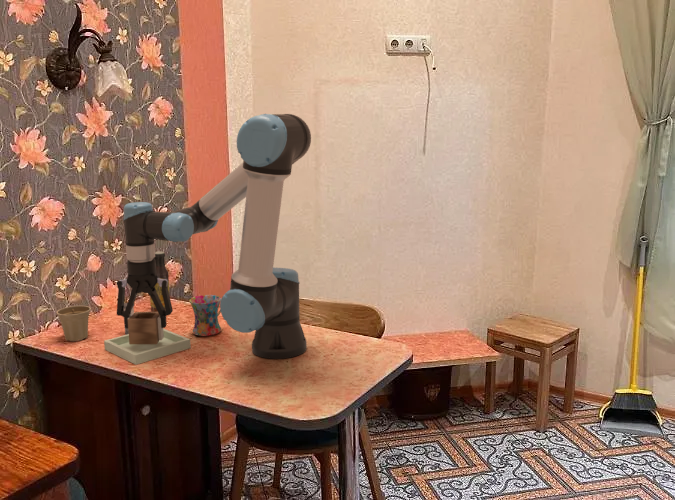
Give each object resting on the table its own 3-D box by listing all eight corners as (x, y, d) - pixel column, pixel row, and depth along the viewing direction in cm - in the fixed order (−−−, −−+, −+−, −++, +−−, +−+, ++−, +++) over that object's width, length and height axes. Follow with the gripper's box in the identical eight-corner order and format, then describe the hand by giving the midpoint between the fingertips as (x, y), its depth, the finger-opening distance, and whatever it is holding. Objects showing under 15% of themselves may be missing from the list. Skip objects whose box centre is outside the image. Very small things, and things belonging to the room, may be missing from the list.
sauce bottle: (147, 312, 220) (143, 254, 216) (155, 307, 226) (151, 250, 222) (166, 313, 219) (162, 254, 215) (173, 307, 225) (170, 250, 221)
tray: (190, 348, 186) (190, 339, 186) (135, 364, 175) (135, 355, 174) (158, 334, 198) (157, 326, 198) (104, 349, 186) (104, 340, 186)
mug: (206, 340, 193) (204, 305, 190) (184, 334, 198) (182, 300, 196) (235, 329, 202) (234, 295, 200) (213, 324, 207) (212, 291, 205)
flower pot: (53, 338, 196) (50, 310, 194) (84, 330, 203) (81, 303, 201) (68, 345, 190) (65, 316, 188) (99, 337, 196) (96, 309, 194)
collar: (163, 335, 190) (161, 311, 188) (156, 344, 182) (155, 319, 181) (137, 335, 189) (135, 311, 188) (129, 344, 182) (127, 320, 181)
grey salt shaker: (138, 333, 200) (136, 304, 198) (127, 336, 197) (125, 306, 195) (132, 330, 202) (130, 301, 200) (121, 333, 200) (119, 304, 198)
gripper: (181, 255, 185) (185, 334, 190) (108, 256, 185) (114, 334, 189) (175, 261, 178) (180, 343, 182) (99, 262, 177) (105, 343, 182)
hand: (146, 338), depth 186 cm, fingers closed on collar, 7 cm apart
